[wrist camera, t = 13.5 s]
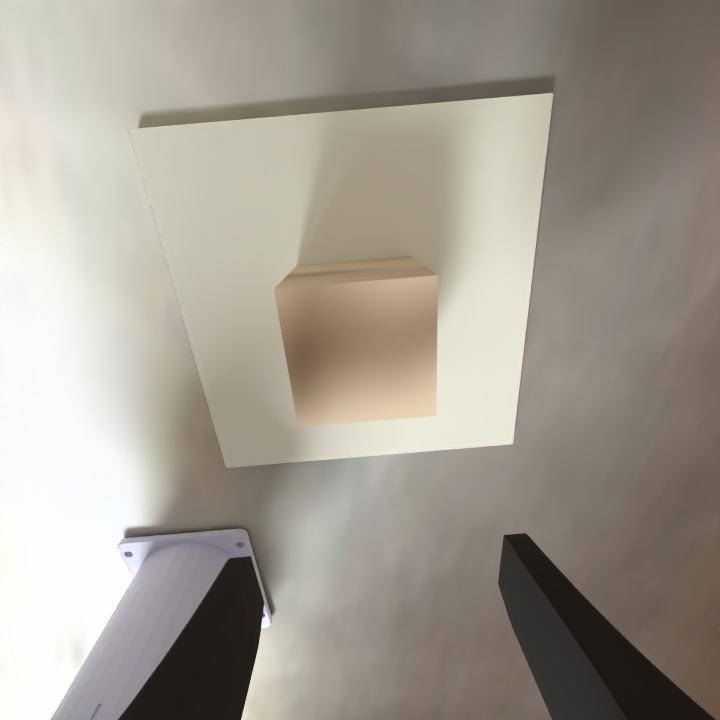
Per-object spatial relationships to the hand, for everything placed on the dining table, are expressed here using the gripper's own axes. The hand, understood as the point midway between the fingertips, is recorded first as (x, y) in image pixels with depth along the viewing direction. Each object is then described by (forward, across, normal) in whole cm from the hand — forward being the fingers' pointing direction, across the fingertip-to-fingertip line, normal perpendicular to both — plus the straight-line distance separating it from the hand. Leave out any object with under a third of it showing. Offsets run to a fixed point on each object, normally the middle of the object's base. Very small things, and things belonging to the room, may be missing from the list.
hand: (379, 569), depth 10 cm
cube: (+9, 0, -5) cm, 10 cm away
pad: (+9, 0, -5) cm, 11 cm away
